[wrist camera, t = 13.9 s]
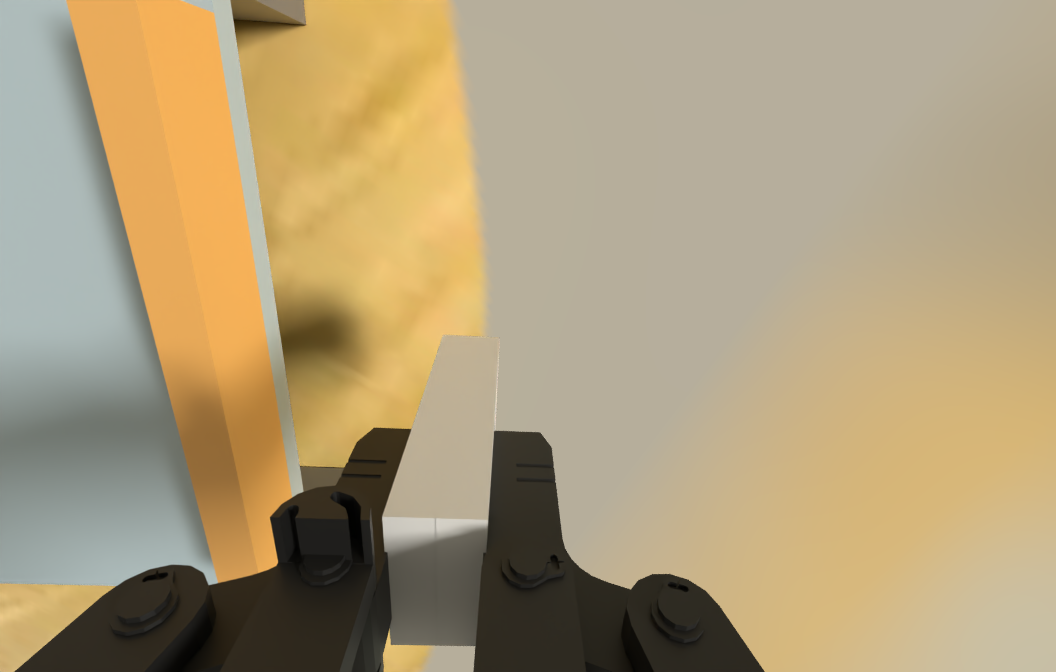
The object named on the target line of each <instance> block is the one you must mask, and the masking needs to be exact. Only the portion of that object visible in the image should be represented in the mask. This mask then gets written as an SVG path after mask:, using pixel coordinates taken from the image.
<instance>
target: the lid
mask: <svg viewBox="0 0 1056 672" xmlns="http://www.w3.org/2000/svg"><path fill="white" fill-rule="evenodd" d="M302 492H304V491H303V485H302V478H301V471H300V465H299V458H298V451H297V444H296V438H295V431H294V424H293V417H292V411H291V404H290V397H289V391H288V384H287V377H286V370H285V364H284V357H283V350H282V344H281V337H280V330H279V323H278V317H277V310H276V303H275V297H274V290H273V283H272V276H271V270H270V263H269V256H268V250H267V243H266V236H265V229H264V223H263V216H262V209H261V203H260V196H259V189H258V182H257V176H256V169H255V162H254V156H253V149H252V142H251V135H250V129H249V122H248V115H247V109H246V102H245V95H244V88H243V82H242V75H241V68H240V62H239V55H238V48H237V41H236V35H235V28H234V21H233V15H232V8H231V1H230V0H0V583H11V584H58V585H105V586H118V585H119V584H120V583H122V582H123V581H125V580H127V579H129V578H131V577H133V576H136V575H138V574H140V573H142V572H145V571H147V570H149V569H153V568H158V567H162V566H167V565H172V564H173V565H190V566H192V567H194V568H196V569H198V570H200V571H202V572H203V573H204V575H205V577H206V580H207V582H208V585H212V584H216V583H220V582H225V581H229V580H233V579H237V578H242V577H246V576H250V575H254V574H257V573H260V572H263V571H266V570H269V569H271V568H273V567H275V566H276V565H277V564H278V559H277V554H276V548H275V543H274V537H273V532H272V527H271V521H270V516H271V515H272V514H273V513H274V512H275V511H276V510H277V509H278V508H279V506H280V505H281V504H282V503H284V502H286V501H287V500H289V499H290V498H292V497H294V496H295V495H297V494H299V493H302Z"/></svg>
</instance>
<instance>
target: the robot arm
mask: <svg viewBox="0 0 1056 672" xmlns="http://www.w3.org/2000/svg"><path fill="white" fill-rule="evenodd" d="M498 357H499V338H498V337H478V336H457V335H443V337H442V340H441V343H440V346H439V349H438V352H437V355H436V358H435V361H434V364H433V367H432V370H431V373H430V376H429V379H428V382H427V385H426V388H425V391H424V394H423V397H422V400H421V402H420V405H419V408H418V411H417V414H416V417H415V420H414V423H413V426H412V429H394V428H373V429H372V430H371V431H370V432H369V433H367V434H366V435H365V436H364V437H363V438H361V439H360V440H359V441H358V442H357V443H356V445H355V447H354V449H353V451H352V453H351V455H350V457H349V461H348V463H347V464H346V466H345V468H344V470H343V472H342V474H341V477H340V478H339V480H338V482H337V484H336V485H335V486H325V487H316V488H314V489H311V490H308V491H305V492H302V493H299V494H297V495H295V496H294V497H292V498H290V499H289V500H287V501H286V502H284V503H282V504H281V505H280V506H279V508H278V509H277V510H276V511H275V512H274V513H273V514H272V515H271V516H270V521H271V527H272V532H273V537H274V543H275V548H276V554H277V559H278V564H277V565H276V566H275V567H273V568H271V569H269V570H266V571H263V572H260V573H257V574H254V575H250V576H246V577H242V578H237V579H233V580H229V581H225V582H220V583H216V584H212V585H208V582H207V580H206V577H205V575H204V573H203V572H202V571H200V570H198V569H196V568H194V567H192V566H190V565H173V564H172V565H167V566H162V567H158V568H153V569H149V570H147V571H145V572H142V573H140V574H138V575H136V576H133V577H131V578H129V579H127V580H125V581H123V582H122V583H120V584H119V585H118V586H116V587H115V588H113V589H112V590H110V591H109V592H108V593H106V594H105V595H103V596H102V597H101V598H100V599H99V600H97V601H96V602H95V603H94V604H93V605H92V606H90V607H89V608H88V609H87V610H86V611H85V612H83V613H82V614H81V615H80V616H79V617H78V618H76V619H75V620H74V621H73V622H72V623H71V624H69V625H68V626H67V627H66V628H65V629H64V630H62V631H61V632H60V633H59V634H58V635H57V636H55V637H54V638H53V639H52V640H51V641H50V642H48V643H47V644H46V645H45V646H44V647H43V648H42V649H40V650H39V651H38V652H37V653H36V654H35V655H33V656H32V657H31V658H30V659H29V660H28V661H26V662H25V663H24V664H23V665H22V666H21V667H19V668H18V669H17V670H16V671H15V672H383V669H384V665H383V652H384V648H385V644H386V640H387V636H388V632H389V628H390V638H391V645H440V646H445V645H446V646H476V647H475V660H474V672H764V670H763V669H762V667H761V666H760V665H759V663H758V661H757V660H756V659H755V657H754V656H753V654H752V653H751V651H750V650H749V648H748V647H747V645H746V644H745V643H744V641H743V640H742V638H741V637H740V635H739V634H738V633H737V631H736V629H735V628H734V627H733V625H732V624H731V622H730V621H729V619H728V618H727V616H726V615H725V614H724V612H723V611H722V609H721V608H720V606H719V605H718V604H717V603H716V602H715V601H714V600H713V599H712V597H711V596H710V595H709V594H708V593H707V592H706V591H705V590H703V589H702V588H700V587H699V586H697V585H696V584H694V583H692V582H691V581H689V580H687V579H684V578H680V577H677V576H674V575H671V574H652V575H650V576H647V577H645V578H643V579H640V580H638V581H637V583H636V584H635V585H634V586H633V588H632V589H631V590H630V589H627V588H624V587H621V586H618V585H614V584H611V583H608V582H605V581H603V580H600V579H598V578H596V577H593V576H591V575H590V574H588V573H587V572H585V571H584V570H582V569H581V568H579V566H578V565H577V564H576V563H574V561H573V560H572V559H571V558H570V556H569V554H568V553H567V551H566V549H565V547H564V543H563V539H562V532H561V524H560V515H559V508H558V507H559V506H558V498H557V489H556V483H555V473H554V468H553V456H552V448H551V446H550V445H549V444H548V442H547V441H546V440H545V438H544V437H543V436H542V434H541V433H539V432H514V431H513V432H512V431H495V424H496V403H497V381H498V379H497V378H498V359H499V358H498Z"/></svg>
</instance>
